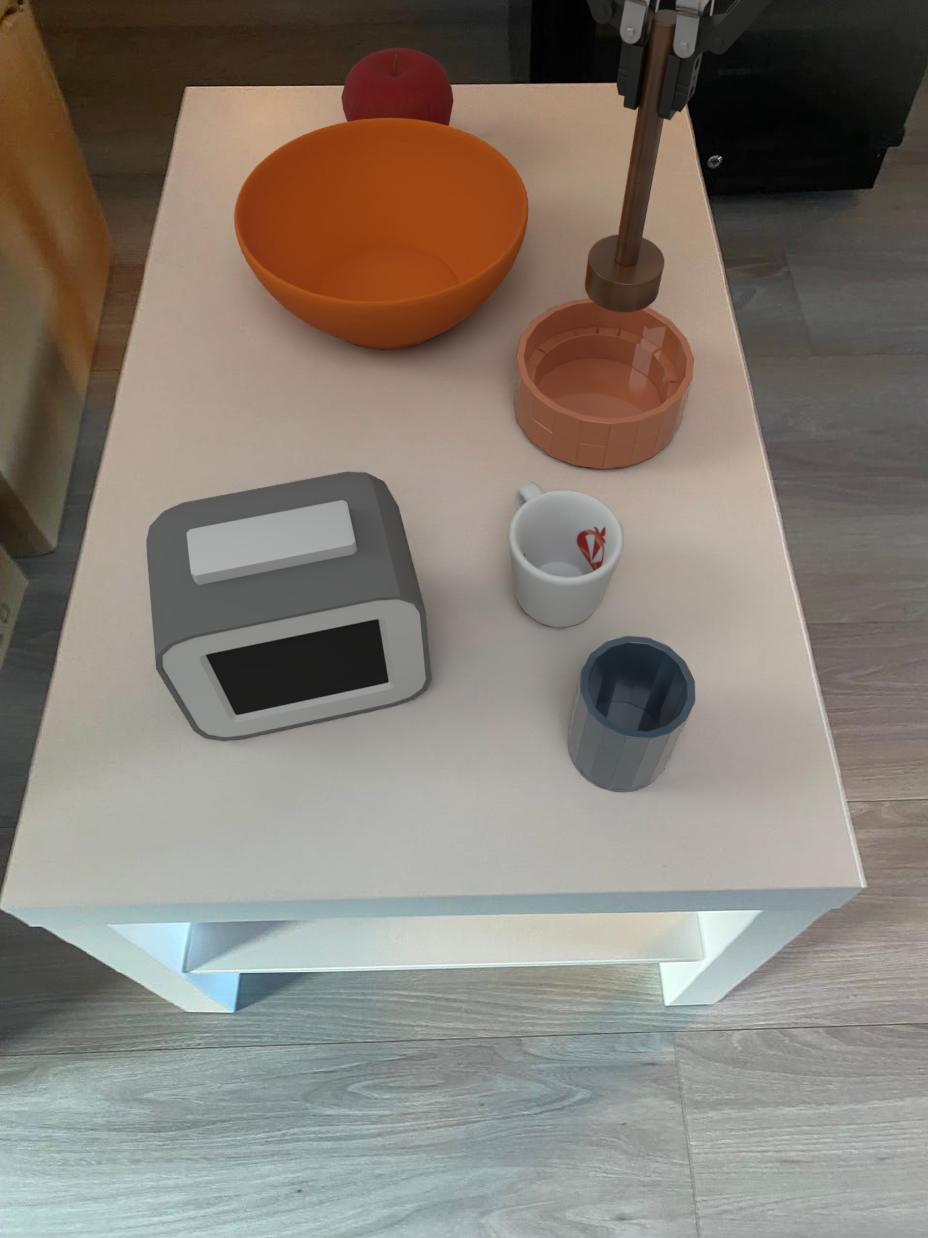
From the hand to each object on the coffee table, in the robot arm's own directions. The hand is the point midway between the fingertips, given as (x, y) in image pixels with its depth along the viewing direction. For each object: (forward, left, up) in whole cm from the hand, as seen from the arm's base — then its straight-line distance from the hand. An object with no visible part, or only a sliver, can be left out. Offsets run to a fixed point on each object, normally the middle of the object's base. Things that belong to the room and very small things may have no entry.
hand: (651, 105), depth 56 cm
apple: (+33, -25, -29) cm, 51 cm away
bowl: (+24, -7, -29) cm, 38 cm away
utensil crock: (-13, +25, -29) cm, 40 cm away
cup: (-3, +15, -29) cm, 33 cm away
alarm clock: (+10, +29, -29) cm, 42 cm away
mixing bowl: (+1, -3, -29) cm, 29 cm away
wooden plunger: (0, 0, -13) cm, 13 cm away
